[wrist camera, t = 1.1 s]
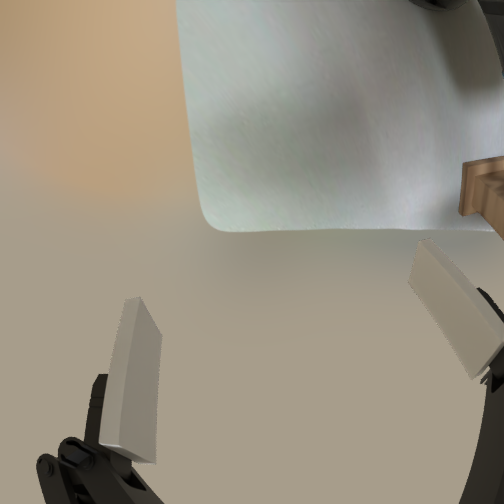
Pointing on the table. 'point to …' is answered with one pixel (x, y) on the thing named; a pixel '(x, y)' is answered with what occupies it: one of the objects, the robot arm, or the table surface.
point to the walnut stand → (484, 191)
